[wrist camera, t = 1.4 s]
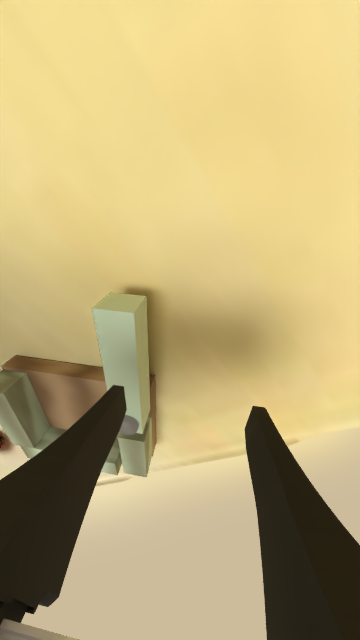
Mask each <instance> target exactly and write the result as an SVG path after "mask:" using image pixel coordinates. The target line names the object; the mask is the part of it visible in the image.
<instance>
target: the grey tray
mask: <svg viewBox="0 0 360 640" xmlns="http://www.w3.org/2000/svg"><path fill="white" fill-rule="evenodd" d="M2 368H3V370H2V371H0V425H1V426H2V428H3V429H4V431H5V432H6V434H7V435H8V437H9V438H10V440H11V442H12V443H13V444H14V445H19V446H21V448H22V449H23V451H24V453H25V454H26V456H27V457H28V458H33V457H34V456H35V455H37V454H38V453H39V452H41V451H42V450H43V449H45V448H46V447H47V446H48V445H50V444H51V443H52V442H53V441H55V440H56V439H57V438H58V437H59V436H61V435H62V434H63V433H64V432H65V431H66V430H68V429H69V428H70V427H71V426H72V425H73V424H74V423H75V422H76V421H78V420H79V419H80V418H81V417H82V416H83V415H84V414H85V413H86V412H87V411H88V410H89V409H90V408H91V407H92V406H93V405H94V404H95V403H96V402H97V401H98V400H99V399H100V398H101V397H102V396H103V395H104V394H105V393H106V392H107V386H106V381H105V376H104V370H103V368H101V367H94V366H87V365H80V364H73V363H66V362H59V361H52V360H45V359H38V358H31V357H24V356H17V355H15V356H14V357H13V358H12V359H10V360H9V361H8V362H6V363H5V364H4V365H2ZM149 383H150V412H149V415H148V418H147V421H146V425H145V428H144V431H143V434H140V433H135V434H133V435H126V434H122V433H120V432H119V433H118V435H117V437H116V440H115V442H114V444H113V446H112V448H111V451H110V453H109V455H108V457H107V459H106V462H105V464H104V466H103V468H102V470H101V472H103V473H109V474H114V475H118V472H119V470H120V467H121V464H123V470H124V473H127V474H132V475H137V476H142V477H147V473H148V469H149V465H150V461H151V457H152V456H153V453H154V449H155V445H156V406H155V375H151V374H149Z"/></svg>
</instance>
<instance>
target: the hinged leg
mask: <svg viewBox="0 0 360 640" xmlns="http://www.w3.org/2000/svg"><path fill="white" fill-rule="evenodd" d="M92 312H93V317H94V322H95V328H96V333H97V338H98V344H99V349H100V354H101V360H102V365H103V370H104V376H105V381H106V386H107V391H108V390H109V389H110V388H111V387H112V386H113V385H118V386H124V391H125V399H126V407H127V410H126V414H125V417H124V420H123V423H122V426H121V428H120V431H119V432H120V433H122V434H126V435H133V434H135V433H140V434H143V431H144V428H145V425H146V421H147V418H148V415H149V412H150V383H149V355H148V326H147V298H146V296H141V295H131V294H122V293H112V292H111V293H110V294H108V295H107V296H106V297H105V298H104V299H102V300H101V301H100V302H99V303H98V304H96V305H95V306H94V307H93V308H92Z"/></svg>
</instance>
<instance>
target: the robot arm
mask: <svg viewBox="0 0 360 640" xmlns="http://www.w3.org/2000/svg"><path fill="white" fill-rule="evenodd" d="M126 410H127V407H126V399H125V391H124V386H118V385H113V386H112V387H111V388H110V389H109V390H108V391H107V392H106V393H105V394H104V395H103V396H102V397H101V398H100V399H99V400H98V401H97V402H96V403H95V404H94V405H93V406H92V407H91V408H90V409H89V410H88V411H87V412H86V413H85V414H84V415H83V416H82V417H81V418H80V419H79V420H78V421H76V422H75V423H74V424H73V425H72V426H71V427H70V428H69V429H68V430H66V431H65V432H64V433H63V434H62V435H61V436H59V437H58V438H57V439H56V440H55V441H53V442H52V443H51V444H50V445H48V446H47V447H46V448H45V449H43V450H42V451H41V452H39V453H38V454H37V455H35V456H34V457H33V458H31V459H30V460H29V461H27V462H26V463H24V464H23V465H22V466H20V467H19V468H17V469H16V470H15V471H13V472H11V473H10V474H8V475H7V476H5V477H4V478H2V479H1V480H0V640H78V639H75V638H71V637H67V636H64V635H60V634H57V633H53V632H49V631H46V630H43V629H39V628H36V627H32V626H29V625H25V624H22V623H21V621H22V619H23V616H24V614H25V612H28V613H31V614H34V612H35V611H36V609H37V607H38V604H39V605H42V606H46V607H48V606H50V605H51V604H52V603H53V602H54V601H55V600H56V599H57V598H58V597H59V594H60V591H61V587H62V584H63V581H64V577H65V574H66V571H67V568H68V565H69V562H70V558H71V555H72V552H73V549H74V546H75V543H76V540H77V537H78V534H79V531H80V528H81V525H82V522H83V519H84V516H85V513H86V510H87V508H88V505H89V502H90V499H91V496H92V494H93V491H94V488H95V485H96V483H97V480H98V477H99V475H100V473H101V470H102V468H103V466H104V464H105V462H106V459H107V457H108V455H109V453H110V451H111V448H112V446H113V444H114V442H115V440H116V437H117V435H118V433H119V431H120V428H121V426H122V423H123V420H124V417H125V414H126ZM245 439H246V450H247V456H248V462H249V468H250V473H251V479H252V484H253V490H254V495H255V501H256V507H257V516H258V525H259V536H260V546H261V558H262V568H263V583H264V596H265V613H266V629H267V640H360V545H359V544H358V543H357V541H356V540H355V539H354V538H353V537H352V535H351V534H350V533H349V532H348V531H347V529H346V528H345V527H344V526H343V525H342V523H341V522H340V521H339V520H338V518H337V517H336V516H335V515H334V513H333V512H332V511H331V509H330V508H329V507H328V505H327V504H326V503H325V502H324V500H323V499H322V497H321V496H320V495H319V493H318V492H317V491H316V489H315V488H314V486H313V485H312V484H311V482H310V481H309V479H308V478H307V476H306V475H305V473H304V472H303V470H302V469H301V467H300V466H299V464H298V463H297V461H296V460H295V459H294V457H293V455H292V453H291V452H290V450H289V449H288V447H287V445H286V444H285V442H284V440H283V439H282V437H281V435H280V434H279V432H278V430H277V428H276V427H275V425H274V423H273V421H272V419H271V417H270V416H269V414H268V412H267V410H266V409H265V408H264V407H257V406H253V407H252V410H251V413H250V416H249V418H248V421H247V424H246V427H245Z"/></svg>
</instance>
